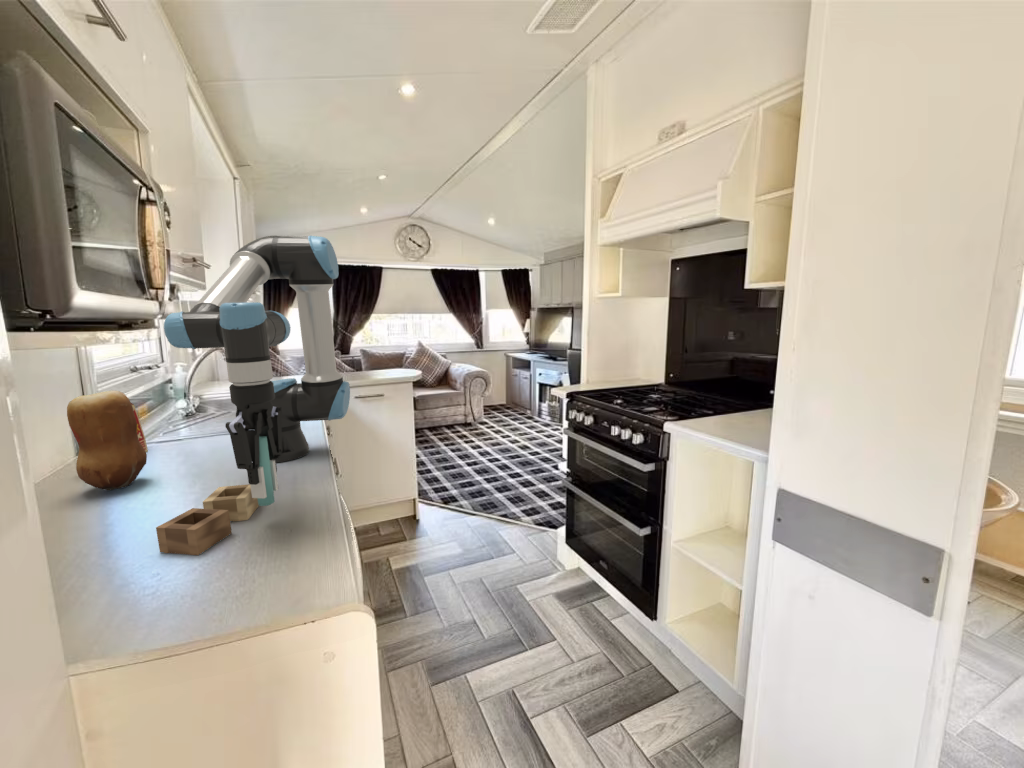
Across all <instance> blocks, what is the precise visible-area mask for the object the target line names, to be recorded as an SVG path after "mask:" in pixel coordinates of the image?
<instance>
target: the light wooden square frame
mask: <svg viewBox="0 0 1024 768" xmlns="http://www.w3.org/2000/svg"><path fill="white" fill-rule="evenodd" d="M202 505H203V506H202V507H203V508H202V509H218V510H229V517H230V521H233V522H241V521H248V520H249V519H250V518H251V517H252V515H253V514H254V513H255V512H256V510H257V509H258V508H259V507H260V506H259V505H258V499H257V498H252V494H251V486H250V484H249V483H247V484H238V485H226V486H218V487H217V488H216V489H215V490H214V491H213V492H211V493H210V495H209V496H207V497H206V498H205V499H204V500H203V501H202Z"/></svg>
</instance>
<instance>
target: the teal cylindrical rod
mask: <svg viewBox="0 0 1024 768" xmlns="http://www.w3.org/2000/svg"><path fill="white" fill-rule="evenodd" d="M259 461H260V466H259V467H263V470H264V478H265V486H266V494H267V497H266V498H264V499H263V498H257V499H258V505H259V506H258V507H265V506H266V507H267V506H270V505H272V504H274V503H275V494H274V492H275V491H273V483H272V475H271V467H270V459H269V451H268V442H267V436H259Z"/></svg>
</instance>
